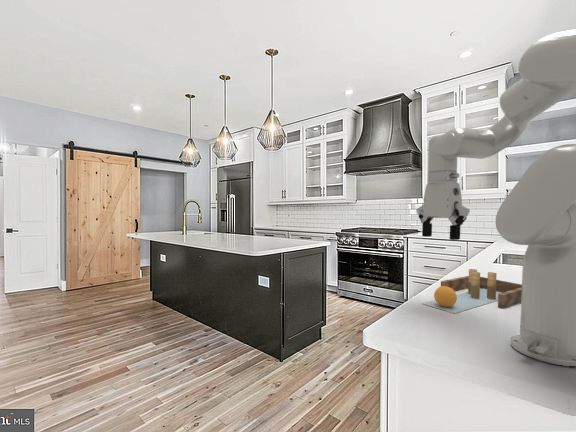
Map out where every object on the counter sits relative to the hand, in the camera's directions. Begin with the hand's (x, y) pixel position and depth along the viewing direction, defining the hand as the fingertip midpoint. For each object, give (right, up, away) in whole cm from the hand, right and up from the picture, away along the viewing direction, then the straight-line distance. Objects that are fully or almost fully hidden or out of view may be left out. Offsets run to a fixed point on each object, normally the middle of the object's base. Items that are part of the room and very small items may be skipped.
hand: (440, 237), depth 91 cm
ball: (+2, -18, +2) cm, 18 cm away
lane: (+14, -21, +10) cm, 27 cm away
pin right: (+22, -21, +11) cm, 32 cm away
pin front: (+17, -21, +11) cm, 29 cm away
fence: (+22, -20, +15) cm, 34 cm away
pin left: (+19, -20, +16) cm, 32 cm away
